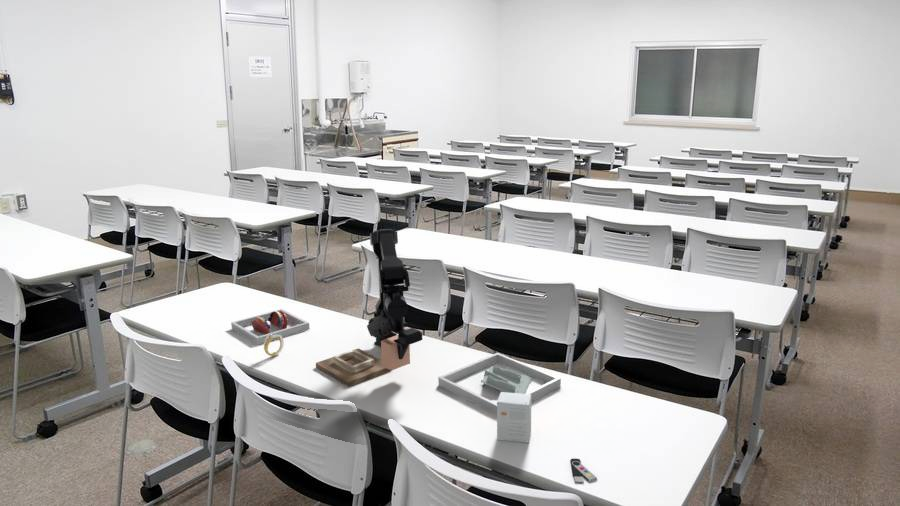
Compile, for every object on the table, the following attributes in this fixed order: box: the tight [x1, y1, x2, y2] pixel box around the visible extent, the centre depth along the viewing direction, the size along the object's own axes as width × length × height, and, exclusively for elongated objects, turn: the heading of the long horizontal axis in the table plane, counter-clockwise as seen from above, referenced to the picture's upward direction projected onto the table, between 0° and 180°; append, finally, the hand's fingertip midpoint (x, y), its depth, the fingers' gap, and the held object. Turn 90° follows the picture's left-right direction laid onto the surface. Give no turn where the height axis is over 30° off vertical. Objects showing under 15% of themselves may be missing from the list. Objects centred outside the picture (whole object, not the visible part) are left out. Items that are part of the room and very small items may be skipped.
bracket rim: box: [437, 352, 562, 415], centre depth 187 cm, size 25×25×2 cm
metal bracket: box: [480, 364, 533, 394], centre depth 186 cm, size 14×6×15 cm
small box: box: [496, 391, 532, 444], centre depth 160 cm, size 8×6×10 cm
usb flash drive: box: [569, 458, 598, 484], centre depth 146 cm, size 9×5×1 cm, turn 175°
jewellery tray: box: [230, 308, 310, 346], centre depth 231 cm, size 20×20×2 cm
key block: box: [380, 334, 411, 372], centre depth 189 cm, size 7×4×8 cm, turn 133°
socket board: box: [315, 347, 392, 387], centre depth 199 cm, size 16×18×4 cm
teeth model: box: [251, 310, 288, 335], centre depth 231 cm, size 8×6×12 cm
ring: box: [263, 331, 285, 357], centre depth 208 cm, size 7×3×8 cm, turn 137°
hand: (395, 356), depth 190 cm, fingers closed on key block, 4 cm apart
